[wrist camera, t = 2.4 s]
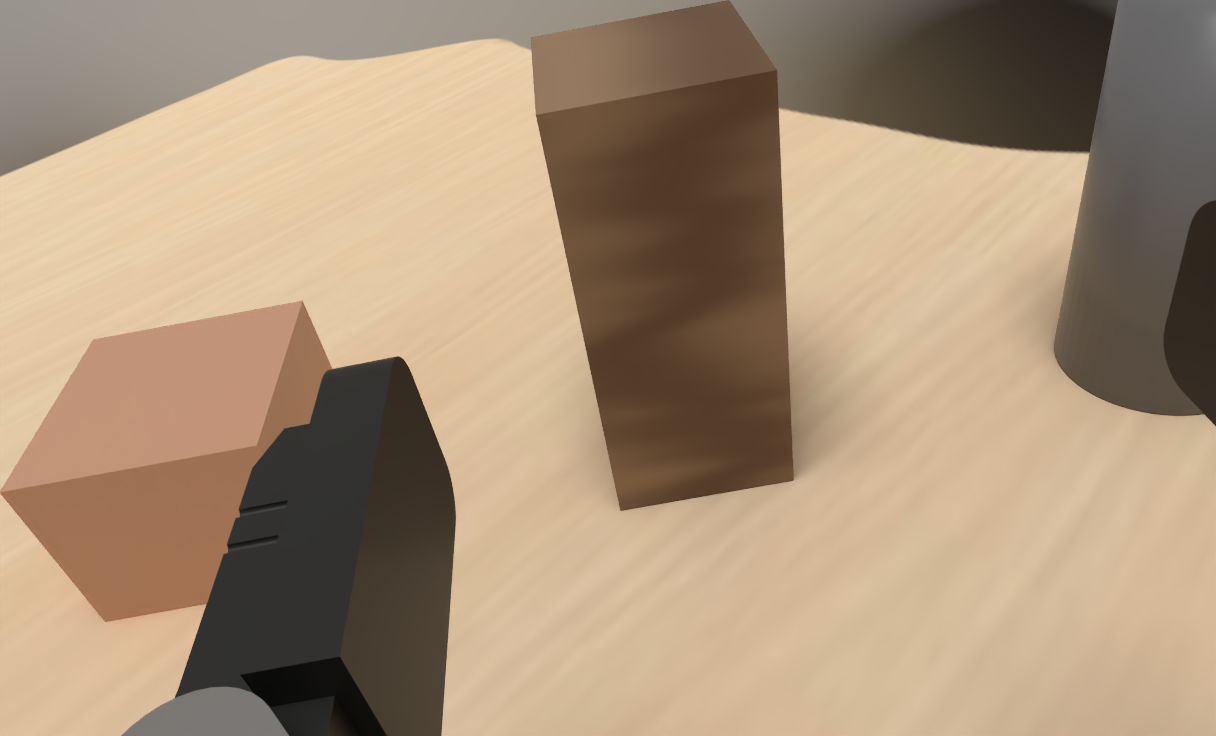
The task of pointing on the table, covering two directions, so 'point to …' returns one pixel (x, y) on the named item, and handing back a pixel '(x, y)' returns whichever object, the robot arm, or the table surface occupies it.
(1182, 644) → the table surface
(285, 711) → the robot arm
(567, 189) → the walnut column
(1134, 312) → the charcoal cylinder
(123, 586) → the terracotta block
